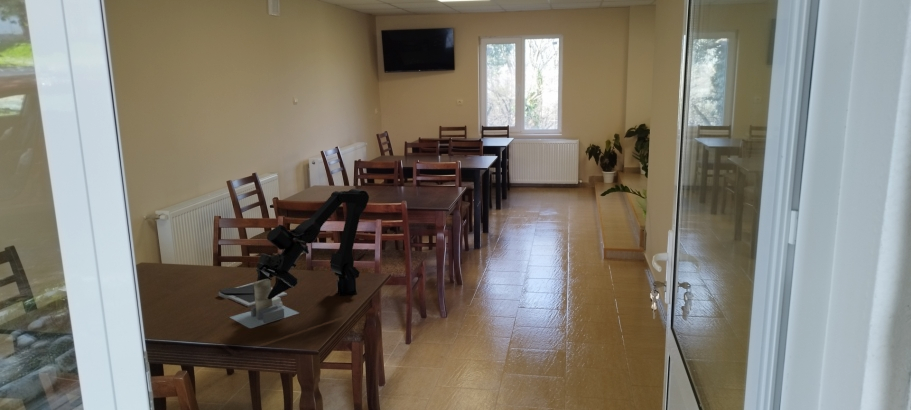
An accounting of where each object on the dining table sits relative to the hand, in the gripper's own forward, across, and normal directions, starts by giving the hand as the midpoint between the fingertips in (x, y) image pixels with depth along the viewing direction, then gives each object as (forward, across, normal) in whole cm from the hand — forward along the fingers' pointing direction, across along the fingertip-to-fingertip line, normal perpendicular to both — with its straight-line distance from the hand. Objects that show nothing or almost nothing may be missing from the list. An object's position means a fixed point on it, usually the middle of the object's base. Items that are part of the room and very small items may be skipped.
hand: (261, 295), depth 201 cm
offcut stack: (0, -5, +10) cm, 11 cm away
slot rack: (+5, 0, +6) cm, 8 cm away
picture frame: (0, -22, +12) cm, 25 cm away
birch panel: (+4, 0, +6) cm, 7 cm away
